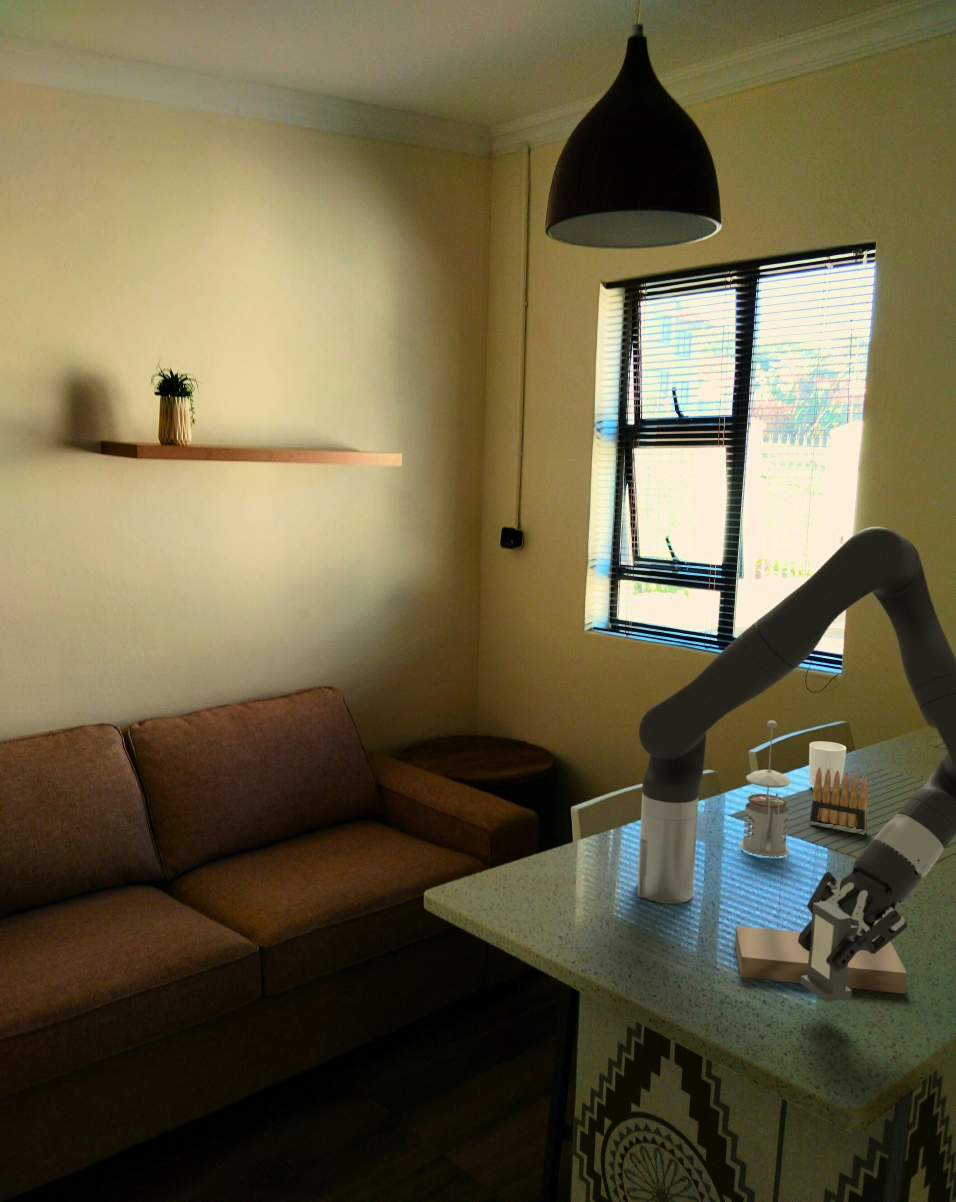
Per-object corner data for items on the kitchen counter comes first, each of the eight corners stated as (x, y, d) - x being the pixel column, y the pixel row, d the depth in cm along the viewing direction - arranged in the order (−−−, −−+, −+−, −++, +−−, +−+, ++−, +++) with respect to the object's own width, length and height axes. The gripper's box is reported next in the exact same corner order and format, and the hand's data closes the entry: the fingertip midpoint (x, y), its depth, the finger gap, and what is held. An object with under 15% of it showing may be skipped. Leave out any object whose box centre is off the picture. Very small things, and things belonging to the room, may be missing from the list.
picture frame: (825, 1002, 129) (832, 920, 128) (800, 983, 134) (806, 904, 132) (851, 997, 131) (858, 916, 129) (825, 978, 135) (831, 900, 134)
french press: (785, 841, 197) (793, 715, 193) (798, 864, 185) (807, 730, 182) (733, 838, 198) (741, 713, 194) (743, 861, 186) (751, 728, 183)
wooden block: (740, 977, 143) (742, 957, 143) (734, 945, 153) (735, 926, 152) (905, 993, 139) (906, 973, 139) (888, 959, 149) (889, 940, 149)
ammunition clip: (866, 833, 203) (870, 774, 201) (864, 835, 201) (868, 777, 199) (811, 822, 208) (815, 765, 207) (809, 824, 207) (813, 767, 205)
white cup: (846, 787, 232) (849, 745, 231) (838, 796, 225) (841, 752, 224) (811, 781, 236) (814, 739, 235) (802, 790, 229) (805, 746, 228)
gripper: (846, 821, 139) (766, 916, 136) (926, 860, 126) (839, 966, 123) (873, 854, 141) (796, 948, 139) (955, 896, 128) (870, 1000, 126)
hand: (817, 956), depth 131 cm, fingers closed on picture frame, 5 cm apart
